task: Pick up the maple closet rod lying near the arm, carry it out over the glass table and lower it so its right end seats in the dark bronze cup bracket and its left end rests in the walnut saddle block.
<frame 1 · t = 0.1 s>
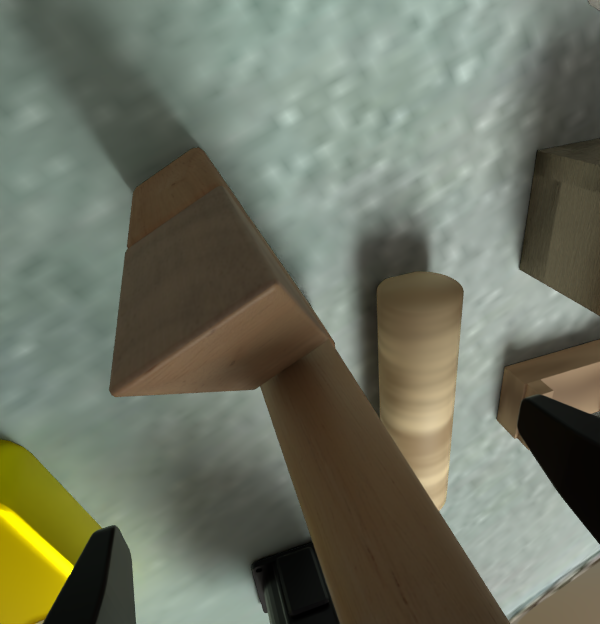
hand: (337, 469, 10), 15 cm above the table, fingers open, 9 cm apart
cup bracket: (589, 200, 27), on the table
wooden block: (233, 258, 23), on the table
rod: (399, 383, 30), on the table
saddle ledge: (550, 379, 34), on the table
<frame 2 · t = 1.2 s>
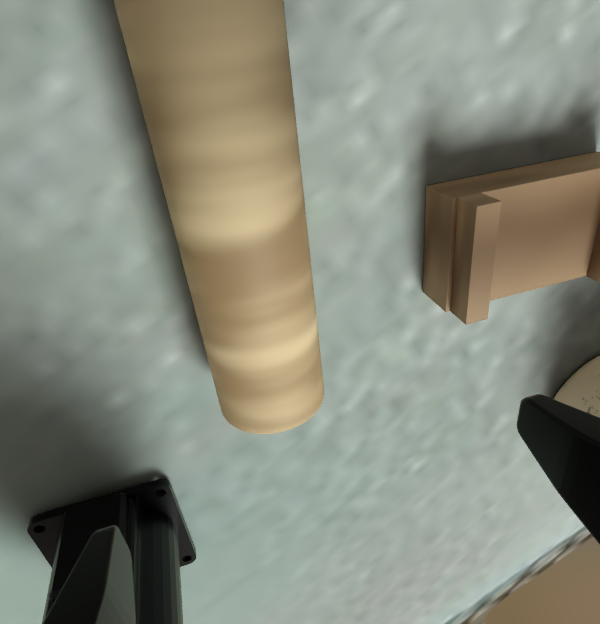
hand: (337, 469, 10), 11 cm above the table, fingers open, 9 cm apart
teacup with lid: (591, 385, 29), on the table
rod: (235, 195, 17), on the table, tilted 6°
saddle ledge: (507, 223, 21), on the table
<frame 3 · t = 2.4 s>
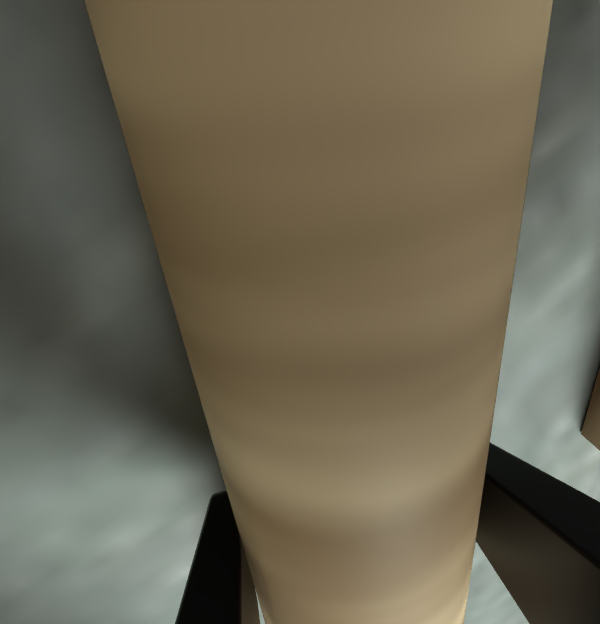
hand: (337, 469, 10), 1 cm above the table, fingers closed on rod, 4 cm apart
rod: (308, 321, 9), on the table, touching gripper
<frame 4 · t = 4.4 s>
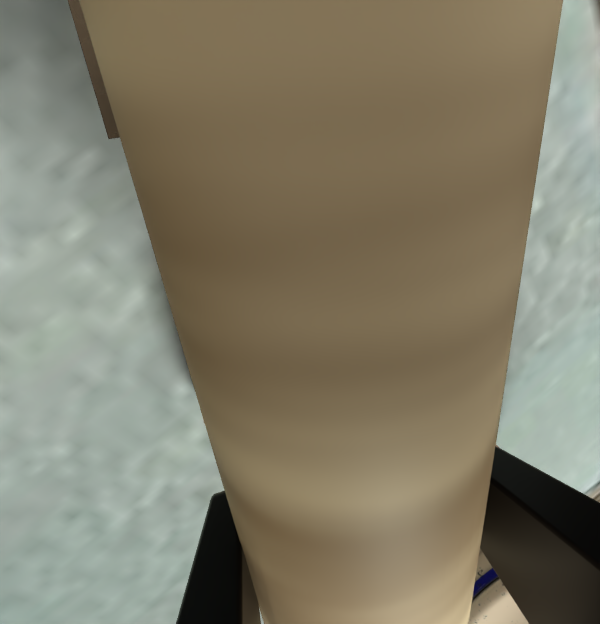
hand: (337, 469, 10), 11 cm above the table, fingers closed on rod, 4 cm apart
teacup with lid: (422, 462, 29), on the table
rod: (308, 319, 9), point 10 cm above the table, touching gripper
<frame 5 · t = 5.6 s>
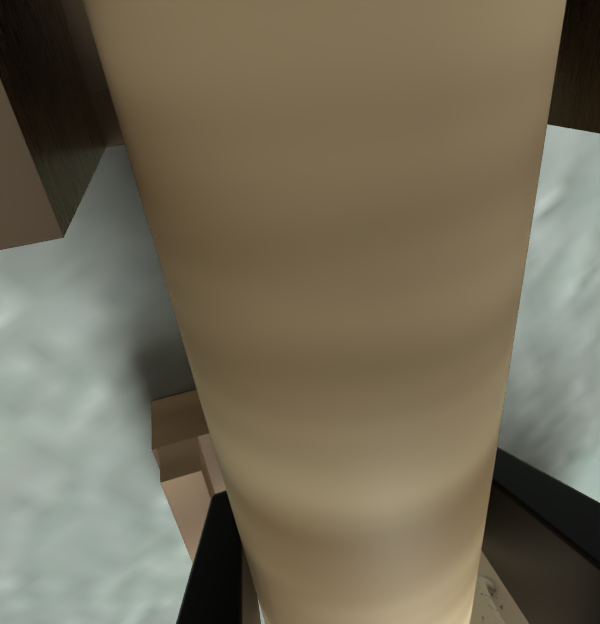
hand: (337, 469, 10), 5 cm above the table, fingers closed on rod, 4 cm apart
teacup with lid: (469, 552, 24), on the table
rod: (309, 318, 9), point 4 cm above the table, touching gripper
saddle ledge: (295, 423, 16), on the table
when the fingers open (4 cm above the table, at t = 6.3 s): rod stays where it is, resting on cup bracket, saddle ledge.
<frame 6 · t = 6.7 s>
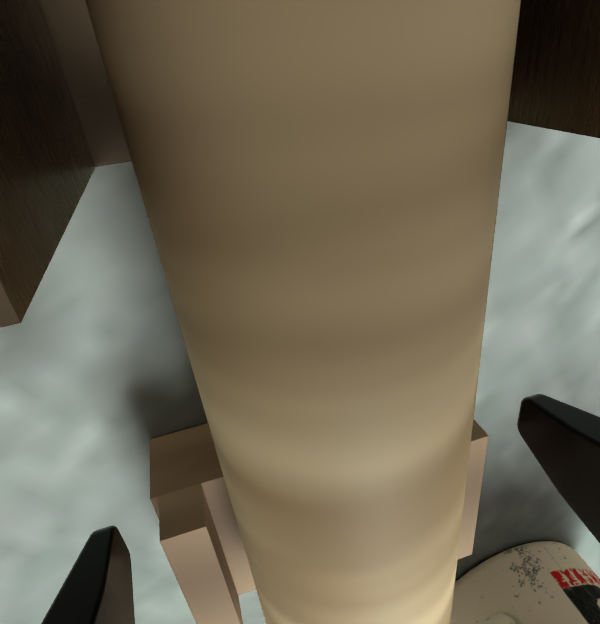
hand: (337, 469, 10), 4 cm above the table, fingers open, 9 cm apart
teacup with lid: (486, 582, 23), on the table
rod: (301, 309, 10), point 2 cm above the table, touching cup bracket, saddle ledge
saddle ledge: (306, 457, 15), on the table
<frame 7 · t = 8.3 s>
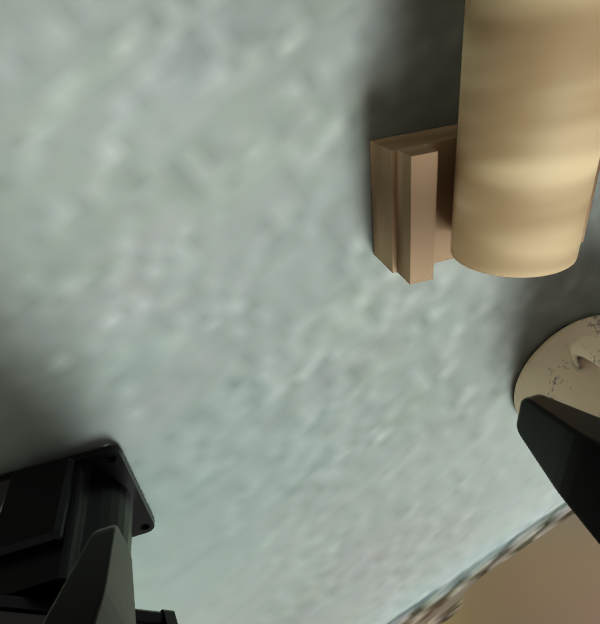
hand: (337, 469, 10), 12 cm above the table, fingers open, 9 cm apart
teacup with lid: (562, 356, 28), on the table
rod: (508, 0, 15), point 2 cm above the table, tilted 8°, touching cup bracket, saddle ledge
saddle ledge: (460, 182, 20), on the table
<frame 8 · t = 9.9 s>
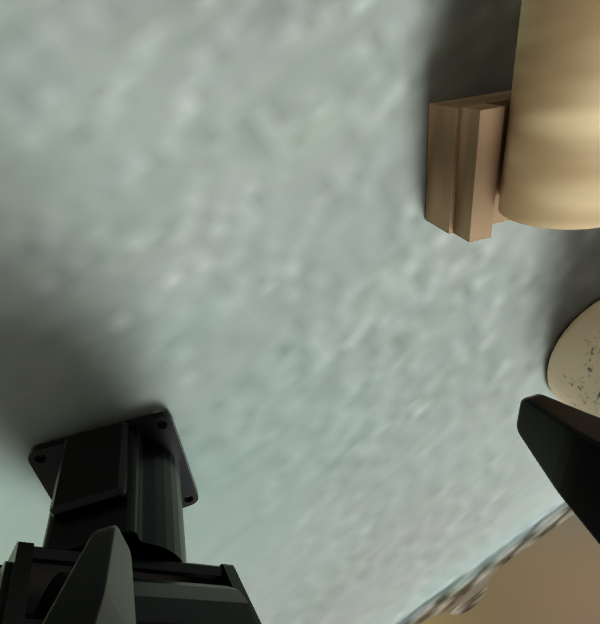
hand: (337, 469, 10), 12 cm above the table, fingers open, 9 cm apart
teacup with lid: (593, 332, 29), on the table
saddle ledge: (510, 149, 21), on the table
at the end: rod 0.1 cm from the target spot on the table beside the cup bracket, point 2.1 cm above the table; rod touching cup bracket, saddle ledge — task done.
